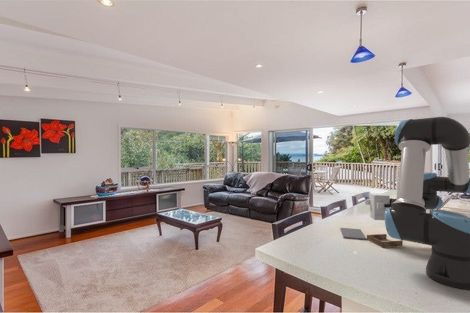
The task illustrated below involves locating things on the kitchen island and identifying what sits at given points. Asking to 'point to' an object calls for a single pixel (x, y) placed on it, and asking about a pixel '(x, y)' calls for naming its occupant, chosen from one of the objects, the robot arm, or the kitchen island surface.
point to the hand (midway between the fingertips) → (371, 203)
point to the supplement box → (374, 211)
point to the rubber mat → (352, 233)
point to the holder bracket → (376, 240)
